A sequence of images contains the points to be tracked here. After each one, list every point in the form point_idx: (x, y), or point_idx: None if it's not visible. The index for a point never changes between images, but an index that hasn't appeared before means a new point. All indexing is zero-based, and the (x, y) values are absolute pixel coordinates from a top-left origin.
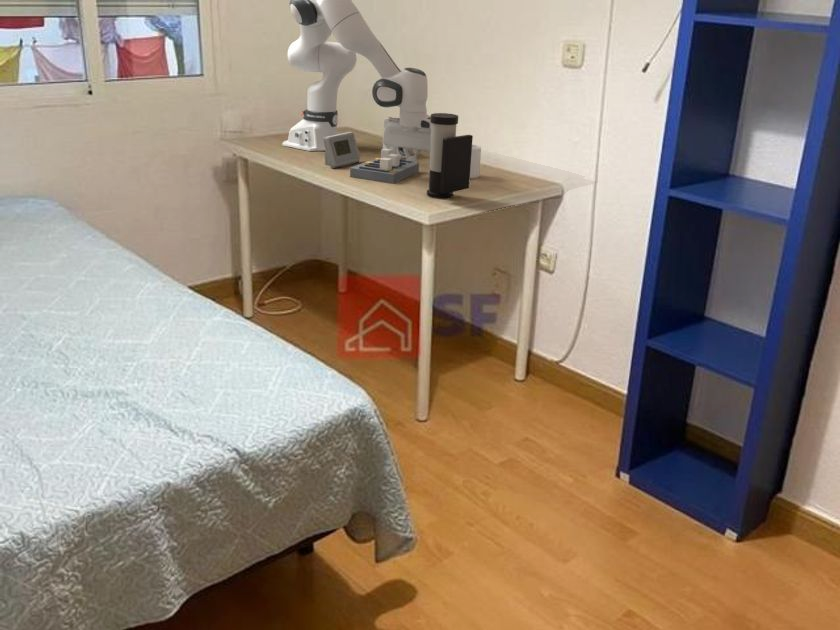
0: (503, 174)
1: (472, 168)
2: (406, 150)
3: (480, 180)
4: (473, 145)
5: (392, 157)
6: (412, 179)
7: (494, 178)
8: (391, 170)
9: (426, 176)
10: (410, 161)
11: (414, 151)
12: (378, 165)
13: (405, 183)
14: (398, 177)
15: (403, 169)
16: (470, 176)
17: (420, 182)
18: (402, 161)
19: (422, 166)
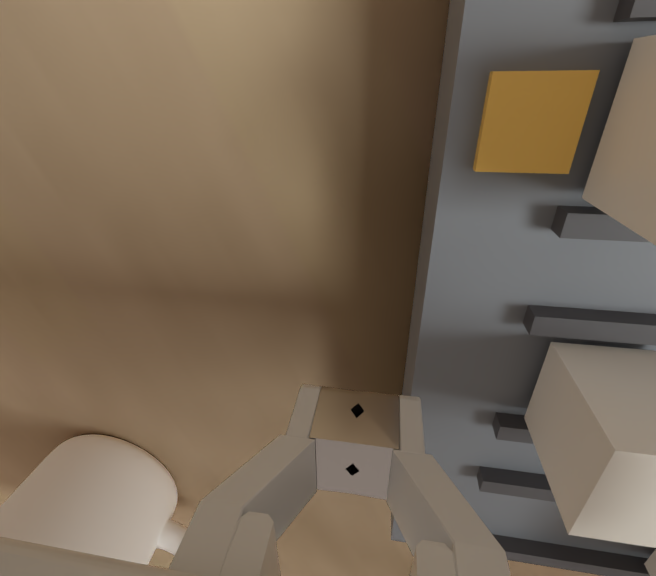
0: None
1: (11, 494)
2: (428, 558)
3: (17, 428)
4: None
5: None
6: (338, 271)
7: (13, 478)
8: (569, 127)
9: (291, 396)
10: (351, 391)
11: (246, 530)
12: None
13: (326, 74)
14: (437, 134)
15: (434, 309)
16: (58, 446)
17: (231, 207)
18: (533, 543)
19: None
